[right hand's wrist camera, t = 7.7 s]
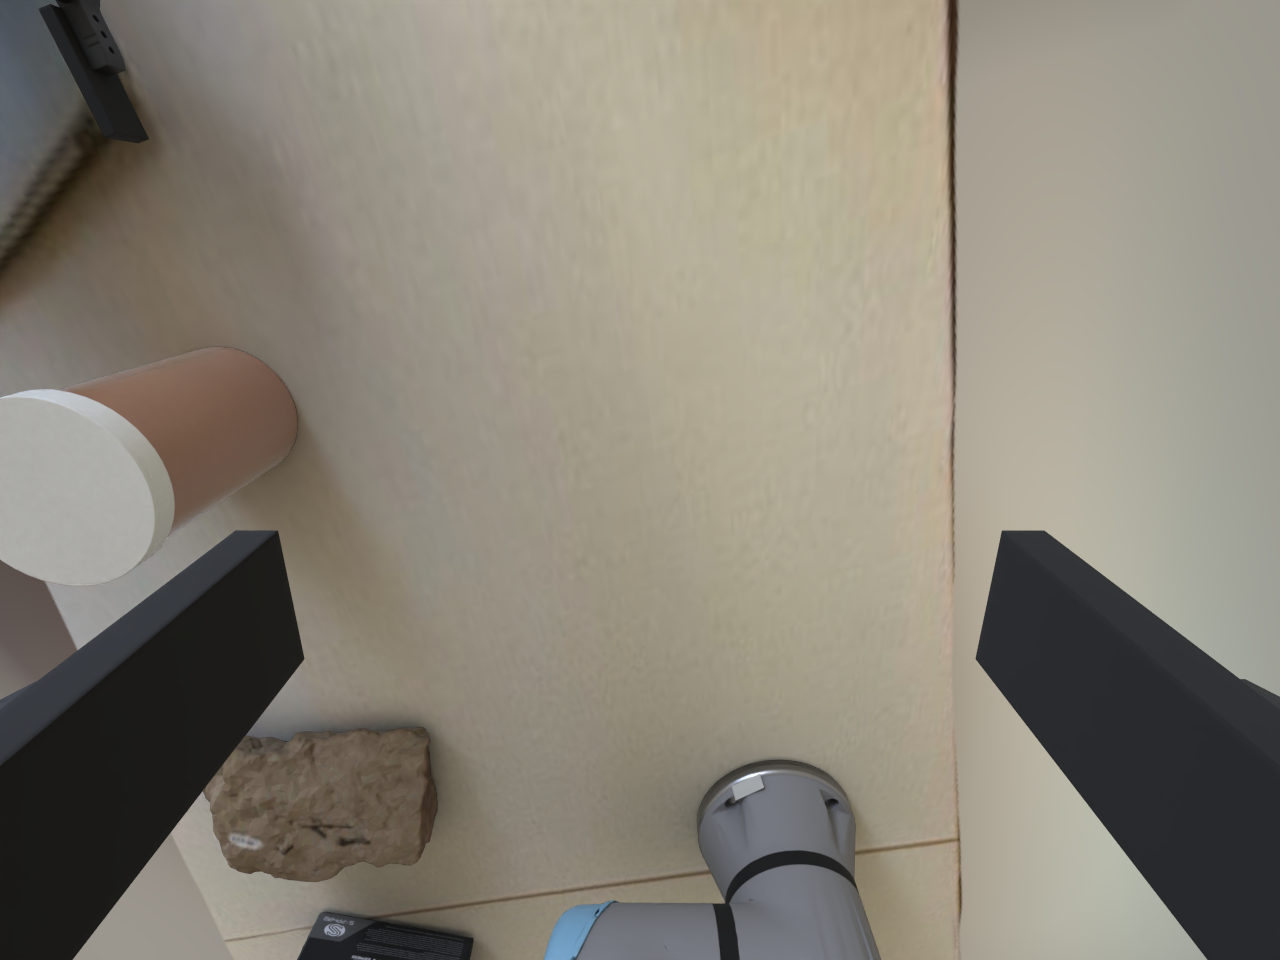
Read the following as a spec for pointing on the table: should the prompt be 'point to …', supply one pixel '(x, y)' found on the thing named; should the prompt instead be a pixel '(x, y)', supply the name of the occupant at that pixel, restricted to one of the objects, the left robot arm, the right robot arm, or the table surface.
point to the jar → (204, 421)
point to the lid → (78, 490)
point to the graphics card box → (379, 941)
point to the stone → (324, 802)
